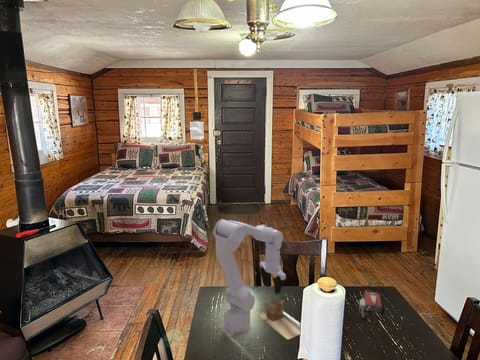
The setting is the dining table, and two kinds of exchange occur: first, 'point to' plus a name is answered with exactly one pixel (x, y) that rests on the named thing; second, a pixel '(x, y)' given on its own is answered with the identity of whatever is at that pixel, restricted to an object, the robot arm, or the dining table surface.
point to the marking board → (284, 325)
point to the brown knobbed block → (274, 310)
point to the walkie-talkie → (370, 302)
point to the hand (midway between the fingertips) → (271, 289)
